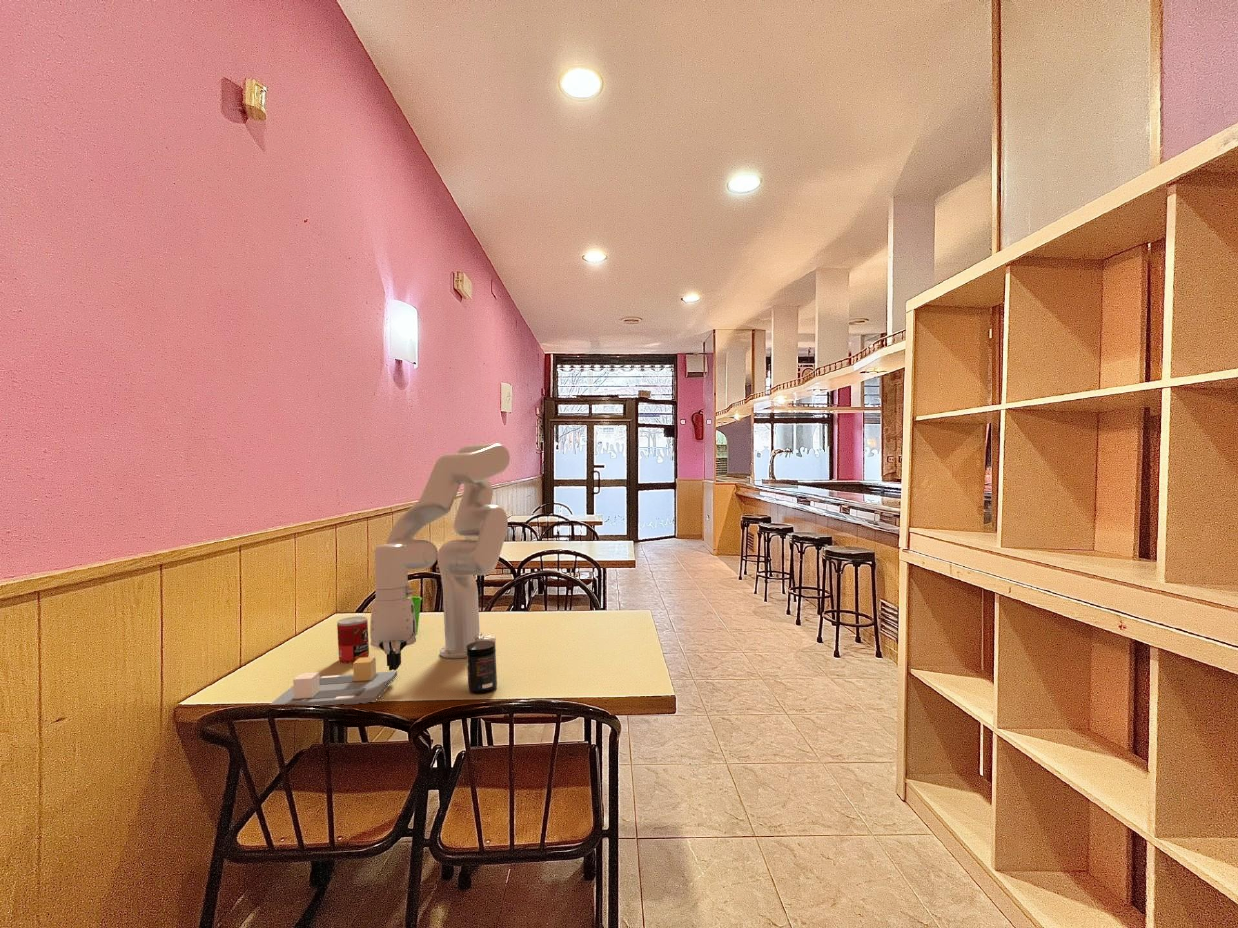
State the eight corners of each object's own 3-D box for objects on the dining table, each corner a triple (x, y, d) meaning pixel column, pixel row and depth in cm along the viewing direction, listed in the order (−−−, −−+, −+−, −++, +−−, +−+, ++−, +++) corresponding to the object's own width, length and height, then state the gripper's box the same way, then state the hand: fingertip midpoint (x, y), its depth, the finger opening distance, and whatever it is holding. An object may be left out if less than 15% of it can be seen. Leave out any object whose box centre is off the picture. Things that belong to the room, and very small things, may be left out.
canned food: (358, 663, 164) (356, 623, 164) (332, 663, 165) (330, 623, 165) (375, 654, 171) (373, 616, 171) (350, 654, 173) (348, 615, 173)
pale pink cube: (319, 690, 141) (318, 672, 141) (312, 697, 137) (311, 678, 137) (302, 691, 141) (301, 673, 141) (294, 698, 137) (293, 679, 137)
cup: (418, 637, 186) (416, 602, 186) (388, 639, 186) (387, 603, 186) (427, 629, 195) (426, 595, 195) (399, 630, 195) (398, 596, 195)
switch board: (397, 675, 153) (397, 670, 153) (375, 702, 136) (374, 696, 136) (303, 682, 151) (303, 676, 151) (269, 709, 134) (269, 704, 134)
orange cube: (376, 674, 151) (375, 656, 151) (370, 680, 147) (370, 662, 147) (359, 675, 150) (359, 657, 150) (353, 681, 146) (353, 663, 146)
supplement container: (489, 681, 146) (487, 638, 146) (502, 689, 141) (500, 644, 141) (463, 689, 142) (461, 645, 142) (476, 697, 136) (474, 651, 136)
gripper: (426, 589, 153) (428, 662, 153) (366, 592, 152) (368, 665, 152) (419, 595, 146) (421, 671, 145) (355, 598, 144) (357, 675, 144)
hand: (394, 668), depth 149 cm, fingers closed
